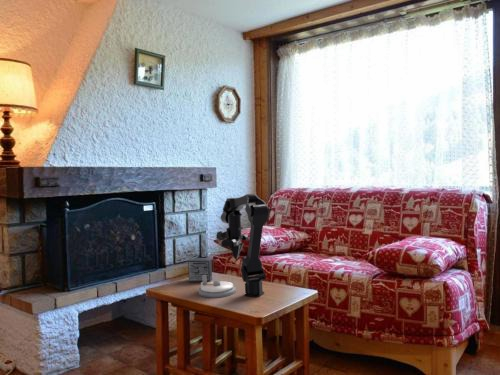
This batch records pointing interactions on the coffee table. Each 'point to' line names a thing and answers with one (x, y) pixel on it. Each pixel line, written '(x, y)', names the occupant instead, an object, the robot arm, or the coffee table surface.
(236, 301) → the coffee table surface
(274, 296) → the coffee table surface
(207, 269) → the small box
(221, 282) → the dial
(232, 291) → the base plate
